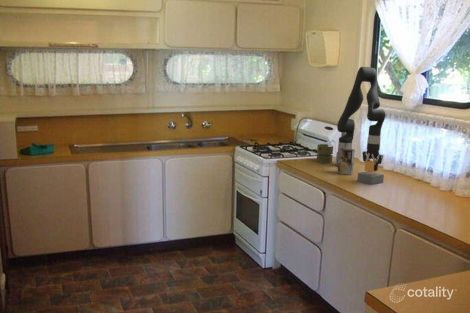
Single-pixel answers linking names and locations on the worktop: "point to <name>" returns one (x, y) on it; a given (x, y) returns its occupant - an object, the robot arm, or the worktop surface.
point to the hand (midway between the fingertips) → (371, 169)
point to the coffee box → (346, 161)
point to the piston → (324, 153)
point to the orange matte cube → (370, 166)
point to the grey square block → (370, 178)
